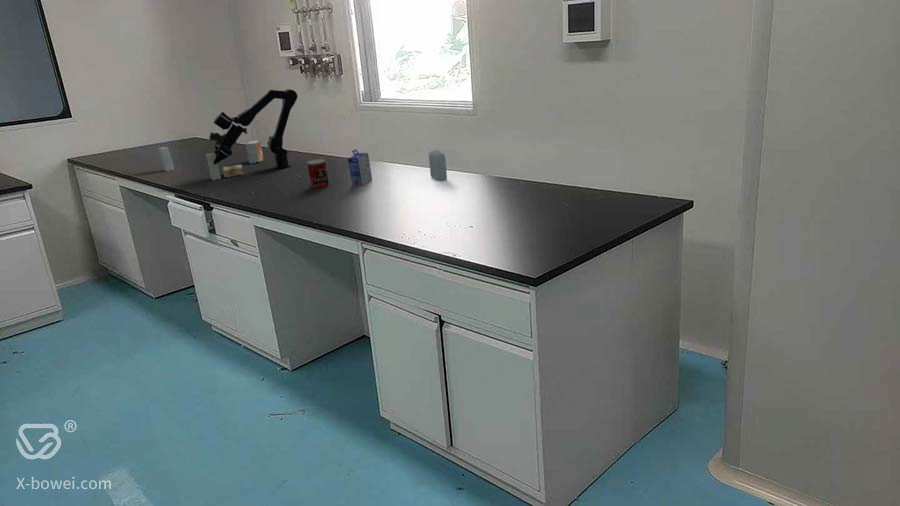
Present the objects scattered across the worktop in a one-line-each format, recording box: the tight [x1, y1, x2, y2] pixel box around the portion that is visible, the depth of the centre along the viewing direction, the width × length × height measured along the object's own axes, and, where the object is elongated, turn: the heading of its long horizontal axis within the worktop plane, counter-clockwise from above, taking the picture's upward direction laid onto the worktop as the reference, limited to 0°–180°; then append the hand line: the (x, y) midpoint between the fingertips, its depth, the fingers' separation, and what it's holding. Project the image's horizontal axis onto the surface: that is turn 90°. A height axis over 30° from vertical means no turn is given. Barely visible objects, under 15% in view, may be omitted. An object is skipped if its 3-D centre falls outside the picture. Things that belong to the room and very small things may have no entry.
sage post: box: [205, 152, 222, 181], centre depth 303 cm, size 4×5×12 cm
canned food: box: [307, 158, 329, 189], centre depth 272 cm, size 8×8×11 cm
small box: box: [245, 140, 264, 164], centre depth 336 cm, size 8×6×10 cm
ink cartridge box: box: [347, 149, 373, 187], centre depth 270 cm, size 10×6×14 cm, turn 161°
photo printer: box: [428, 149, 448, 182], centre depth 266 cm, size 10×4×12 cm, turn 25°
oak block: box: [222, 164, 244, 178], centre depth 310 cm, size 9×9×4 cm
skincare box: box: [157, 146, 175, 172], centre depth 334 cm, size 6×4×12 cm
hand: (213, 162), depth 303 cm, fingers open, 9 cm apart
